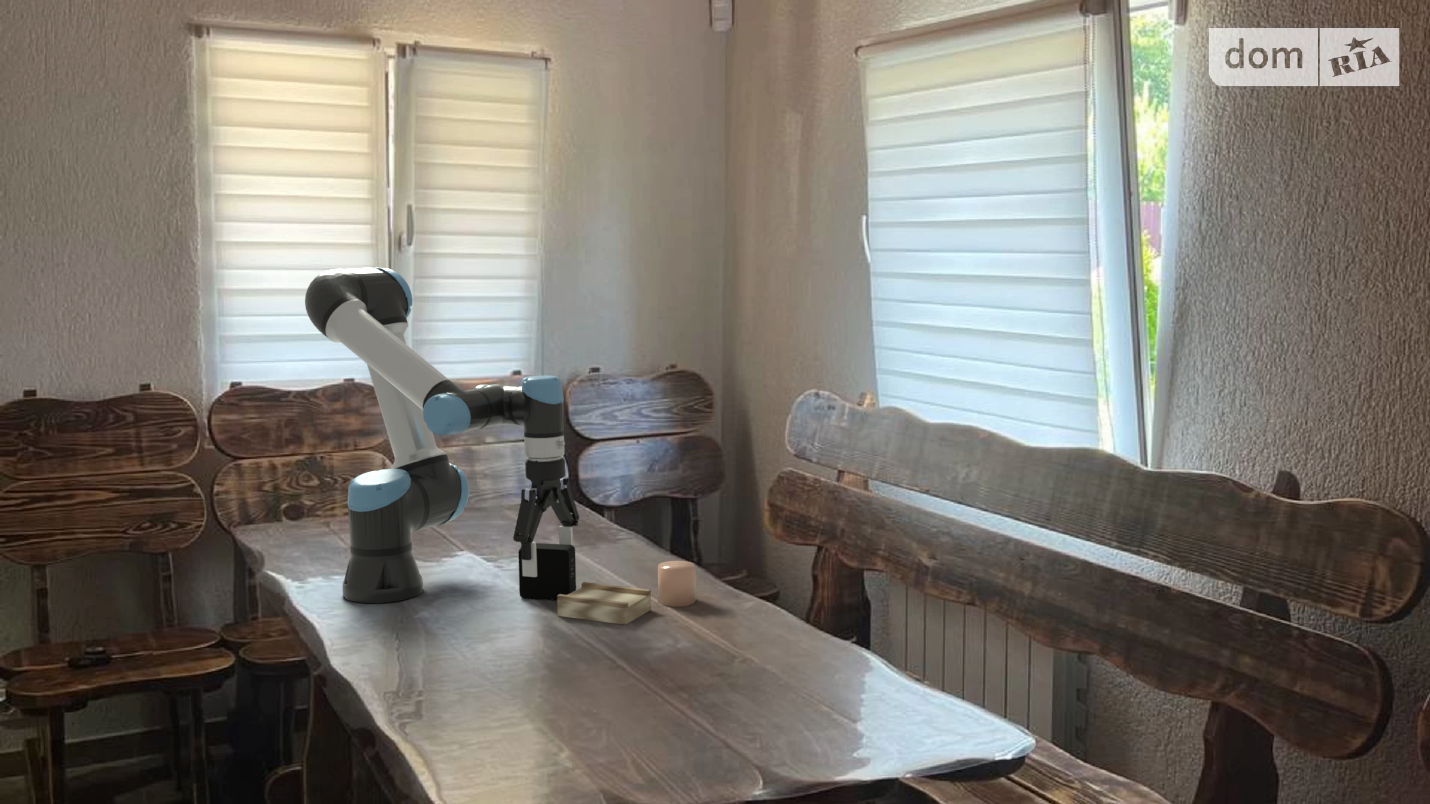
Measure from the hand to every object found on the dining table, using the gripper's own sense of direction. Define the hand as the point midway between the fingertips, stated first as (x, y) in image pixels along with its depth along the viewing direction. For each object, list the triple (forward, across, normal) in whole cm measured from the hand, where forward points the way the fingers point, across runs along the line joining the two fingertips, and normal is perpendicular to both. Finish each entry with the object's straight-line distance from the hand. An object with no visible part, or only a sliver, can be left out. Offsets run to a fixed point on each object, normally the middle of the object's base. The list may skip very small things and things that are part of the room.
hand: (548, 567), depth 249 cm
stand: (+6, -5, -15) cm, 17 cm away
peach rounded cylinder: (+6, +7, -24) cm, 25 cm away
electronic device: (+6, 0, 0) cm, 6 cm away
